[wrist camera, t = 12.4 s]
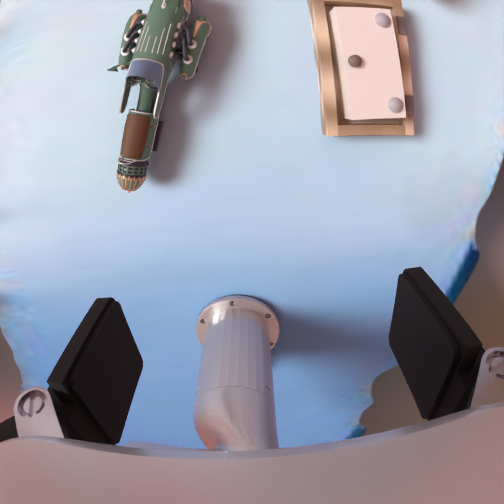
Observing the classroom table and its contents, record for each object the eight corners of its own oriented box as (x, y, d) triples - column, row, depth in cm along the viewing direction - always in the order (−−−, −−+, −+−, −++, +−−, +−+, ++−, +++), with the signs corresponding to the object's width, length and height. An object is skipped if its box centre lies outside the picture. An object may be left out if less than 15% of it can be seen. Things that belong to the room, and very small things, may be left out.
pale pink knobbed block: (326, 15, 29) (335, 5, 25) (377, 16, 28) (391, 8, 24) (342, 118, 34) (354, 120, 30) (391, 115, 34) (408, 118, 30)
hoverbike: (223, 3, 29) (216, -21, 21) (172, 193, 39) (154, 216, 32) (148, -6, 28) (124, -28, 20) (104, 178, 38) (75, 197, 31)
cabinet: (403, 132, 35) (415, 135, 33) (322, 133, 36) (328, 136, 33) (391, 5, 28) (401, -1, 25) (307, -1, 28) (312, -10, 25)
